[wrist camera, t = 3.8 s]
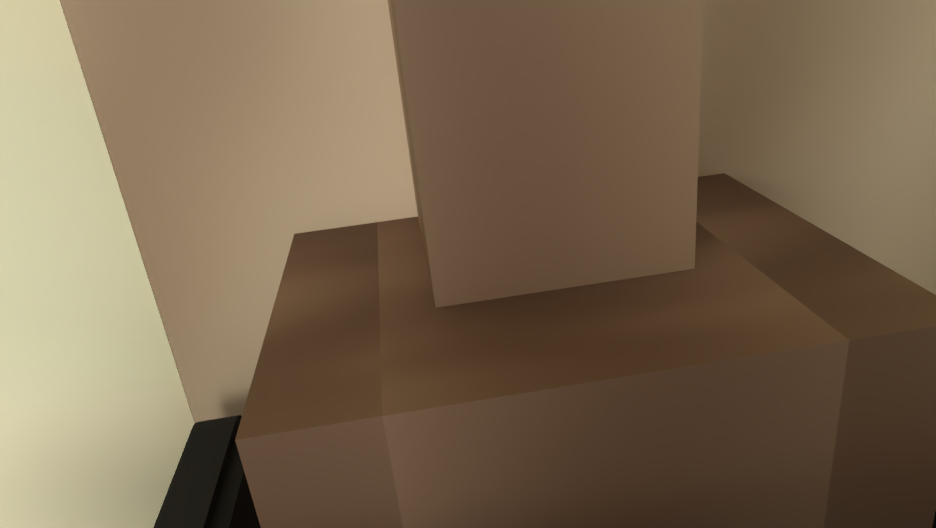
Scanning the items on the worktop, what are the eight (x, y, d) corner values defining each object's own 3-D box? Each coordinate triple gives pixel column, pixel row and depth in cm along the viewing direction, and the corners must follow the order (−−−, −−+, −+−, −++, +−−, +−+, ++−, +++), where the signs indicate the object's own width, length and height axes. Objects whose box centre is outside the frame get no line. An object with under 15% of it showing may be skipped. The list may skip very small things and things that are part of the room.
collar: (736, -93, 8) (1080, -150, 4) (704, 576, 12) (859, 857, 8) (234, -38, 7) (92, -44, 3) (382, 637, 11) (388, 963, 7)
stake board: (1171, -231, 8) (2569, -580, 3) (968, 565, 14) (1352, 948, 8) (53, -121, 7) (-772, -351, 2) (299, 693, 13) (248, 1222, 7)
